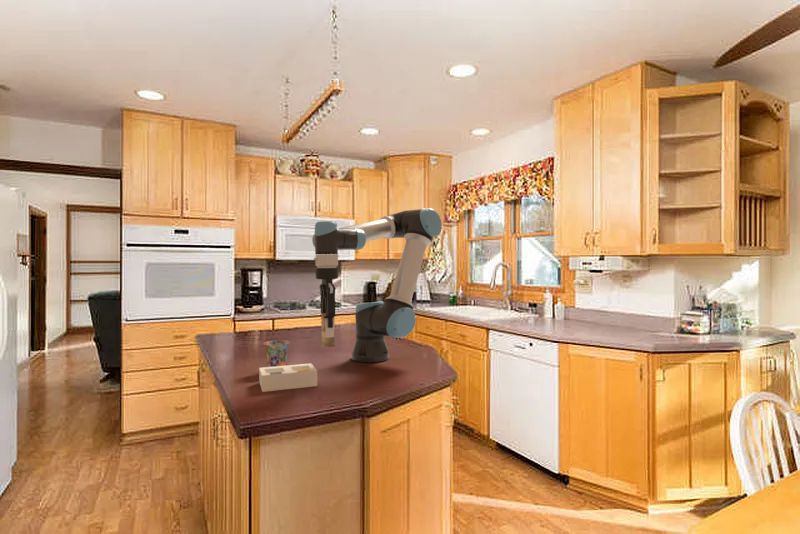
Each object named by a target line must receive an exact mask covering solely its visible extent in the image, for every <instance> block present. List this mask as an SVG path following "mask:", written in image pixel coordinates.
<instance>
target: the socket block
mask: <svg viewBox="0 0 800 534" xmlns="http://www.w3.org/2000/svg"><path fill="white" fill-rule="evenodd" d="M258 368H259V369H258V371H259V373H258V378H259V385H260V389H261V392H262V393H264V392H265V393H267V392H274V391H283V390H293V389H301V388H311V387H318V370H317V368H316V367H315V366H314V365H313V363H300V364H287V366H275V367H266V366H264V367H258Z"/></svg>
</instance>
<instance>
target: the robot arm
mask: <svg viewBox="0 0 800 534" xmlns="http://www.w3.org/2000/svg"><path fill="white" fill-rule="evenodd" d="M442 227H443V223H442V219H441V216H440V213H438V212H437V211H436V210H435V209H433V208H431V207H430V208H424V207H423V208H419V209H411V210H403V211H399V212H397V213H393V214H392V213H391V214H389V215H385V216H383V217H381V218H380V219H378V220H377V219H376V220H372V221H367V222H362V223H356V224H351V225H345V226H340V227H338V223H337V222H336V221H333V220H332V221H331V220H330V221H329V220H327V221H324V220H323V221H317V222H316V223H315V224H314V234H313V235H312V239H311V240H312V245H313V247H314V253H315V254H314V256H315V257H313V261H315V266H316V268H315V279H316V280H321V284H319V292H320V296H319V297H320V298H319V299H320V314H322V313H326V316H325V317H324V318H325V330H326V338H329V337H334V324H335V317H336V287H335V284H334V283H333V280H337V279H338V278H339V268H338V266H339V255H338V254H339V252H338V251H346V250H348V251H349V250H350V251H351V250H354V251H356V250H361V249H363V248H364V247H365V245H366V243H367V242H370V241H374V240H379V239H386V240H390V239H397V238H399V239H402V238H403V239H404V240H405V244H404V247H403V251H402V255H401V258H400V262H399V264H398V268H397V271H396V275H395V278H394V281H393V284H392V288H391V291H390V294H389V296H387V297H385V298H384V300H382V301H374V302H373V301H372V302H363V303H358V304H356V306H355V312H354V314H355V316H354V317H355V343H354V345H353V347H352V352H351V360H352V361H354V362H358V363H359V362H360V363H379V362H384V361H388V359H389V358H390V353H389V349H388V346H387V344H386V340H385V336H387V337H391V338H395V339H396V338H402V339H403V338H405V337H407V336H408V335H410V334H411V333H412V332H413V331H414V328H415V326H416V323H417V321H416V320H417V317H416V313H415V311H414V305H413V303H412V299H413V296H414V293H415V289H416V285H417V281H418V278H419V275H420V271H421V267H422V264H423V260H424V258H425V254H426V250H427V248H428V247H429V246H431V245H432V243H433V238H435V237H437V236H439V235H440V234H441V231H442Z"/></svg>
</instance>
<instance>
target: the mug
mask: <svg viewBox="0 0 800 534" xmlns="http://www.w3.org/2000/svg"><path fill="white" fill-rule="evenodd" d="M262 345H263V347H264V350H265V354H266V366H265V367H275V366H287V365H288V361H287V353H288V349H289V345H290V341H288V340H270V341H265V342H263V344H262Z"/></svg>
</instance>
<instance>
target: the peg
mask: <svg viewBox="0 0 800 534" xmlns="http://www.w3.org/2000/svg"><path fill="white" fill-rule="evenodd" d="M325 316H326V313H320V317H321V319H320V320H321V323H320V325H321V347H322V348H333V347H335V346H336V341H335V340H336V339H335V338H336V336H335V335H336V333H335V332H336V331H335V330H336V329H335V328H336V327H335V323H334V337H329V338H326V330H325V318H324V317H325Z"/></svg>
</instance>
